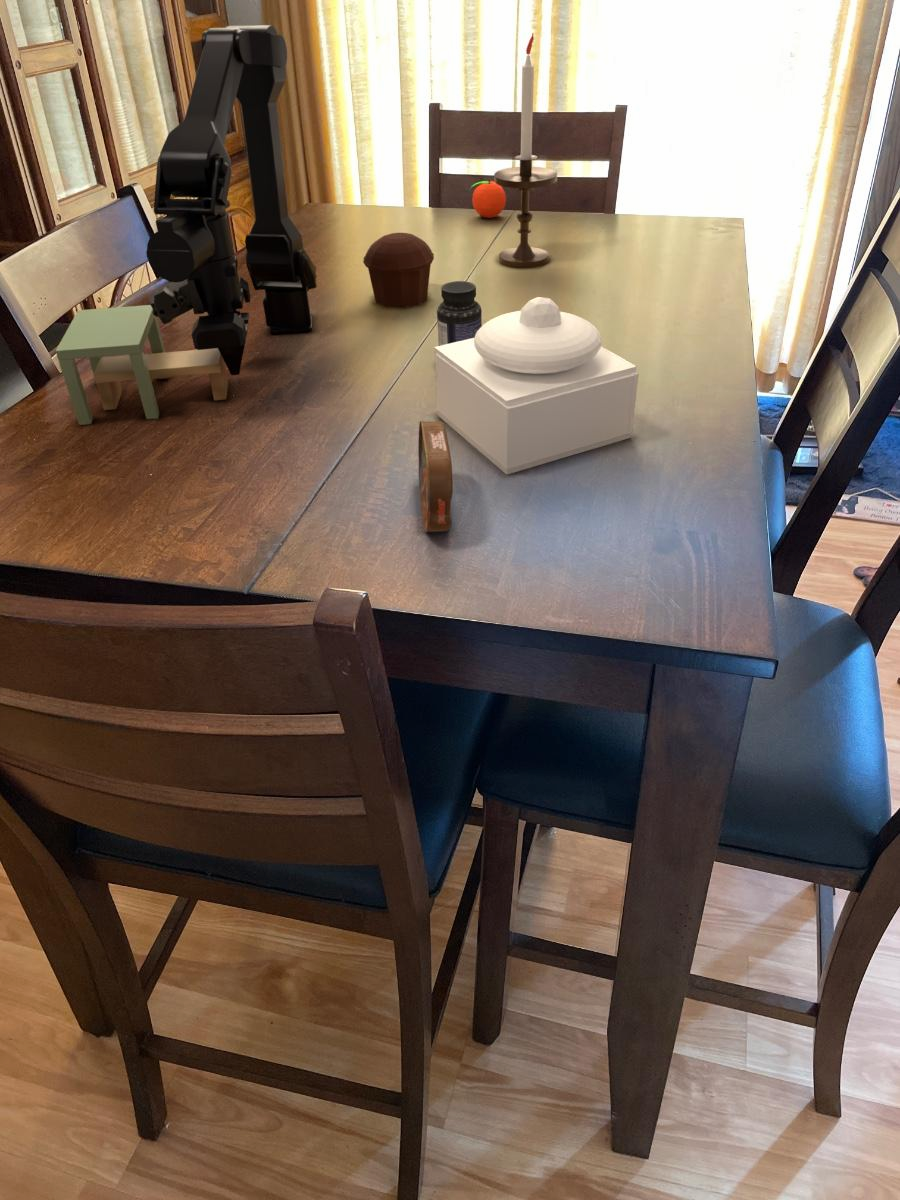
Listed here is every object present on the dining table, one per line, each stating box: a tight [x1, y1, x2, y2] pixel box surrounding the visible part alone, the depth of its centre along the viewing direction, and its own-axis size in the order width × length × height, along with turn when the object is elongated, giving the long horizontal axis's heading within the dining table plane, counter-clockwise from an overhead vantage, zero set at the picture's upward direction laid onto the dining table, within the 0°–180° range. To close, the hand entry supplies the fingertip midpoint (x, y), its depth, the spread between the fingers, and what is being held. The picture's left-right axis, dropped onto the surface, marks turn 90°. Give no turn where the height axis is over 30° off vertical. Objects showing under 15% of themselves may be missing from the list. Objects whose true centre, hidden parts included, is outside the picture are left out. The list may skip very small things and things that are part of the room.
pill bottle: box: [436, 280, 483, 346], centre depth 121 cm, size 6×6×11 cm
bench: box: [93, 348, 229, 411], centre depth 118 cm, size 16×6×5 cm, turn 98°
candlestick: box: [493, 32, 558, 269], centre depth 150 cm, size 11×11×35 cm
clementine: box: [467, 179, 507, 219], centre depth 181 cm, size 8×7×7 cm
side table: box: [55, 304, 170, 426], centre depth 116 cm, size 10×14×10 cm
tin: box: [418, 420, 454, 533], centre depth 92 cm, size 15×3×8 cm, turn 5°
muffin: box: [362, 232, 435, 309], centre depth 143 cm, size 12×11×10 cm
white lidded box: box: [433, 296, 639, 476], centre depth 105 cm, size 18×18×16 cm
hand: (235, 374), depth 119 cm, fingers closed, pressing on bench
